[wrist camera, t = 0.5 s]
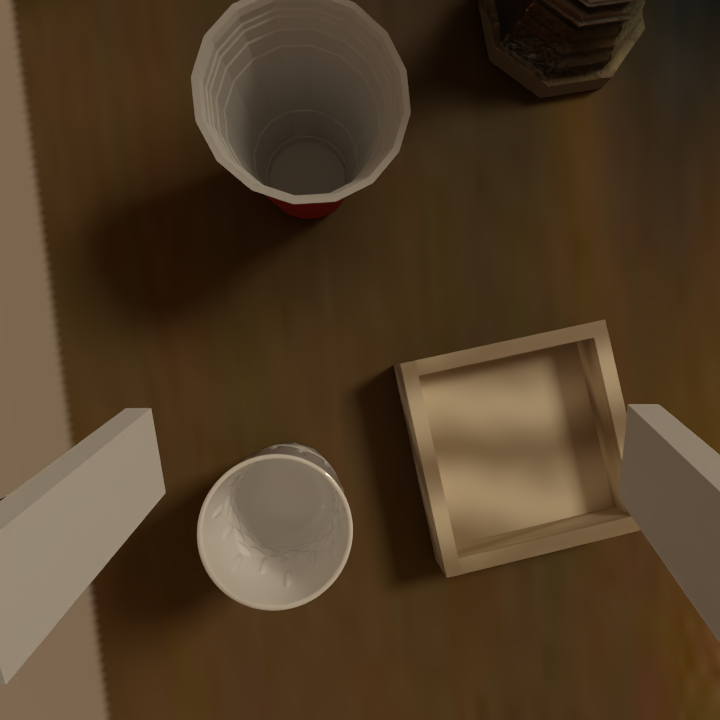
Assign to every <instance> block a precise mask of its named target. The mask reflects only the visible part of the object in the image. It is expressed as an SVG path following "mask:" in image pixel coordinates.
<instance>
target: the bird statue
mask: <svg viewBox="0 0 720 720" xmlns="http://www.w3.org/2000/svg"><path fill="white" fill-rule="evenodd" d="M644 4H645V0H478V7H479V12H480V17H481V22H482V27H483V32H484V37H485V42H486V47H487V52H488V57H489V61H490V62H492V63H493V64H494V65H496V66H497V67H498V68H500V69H501V70H502V71H504V72H505V73H506V74H508V75H509V76H511V77H512V78H513V79H515V80H516V81H517V82H519V83H520V84H521V85H523V86H524V87H525V88H527V89H528V90H529V91H531V92H532V93H534V94H535V95H536V96H538V97H539V98H545V97H552V96H558V95H564V94H570V93H577V92H583V91H589V90H596V89H601V88H602V87H603V86H604V85H605V84H606V83H607V82H608V80H609V79H610V78H611V77H612V76H613V75H614V73H615V72H616V70H617V69H618V67H619V66H620V64H621V63H622V61H623V60H624V58H625V57H626V56H627V54H628V53H629V51H630V50H631V48H632V47H633V45H634V44H635V42H636V41H637V40H638V38H639V37H640V35H641V34H642V32H643V31H644V29H645V26H644V21H643V15H642V8H643V6H644Z"/></svg>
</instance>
